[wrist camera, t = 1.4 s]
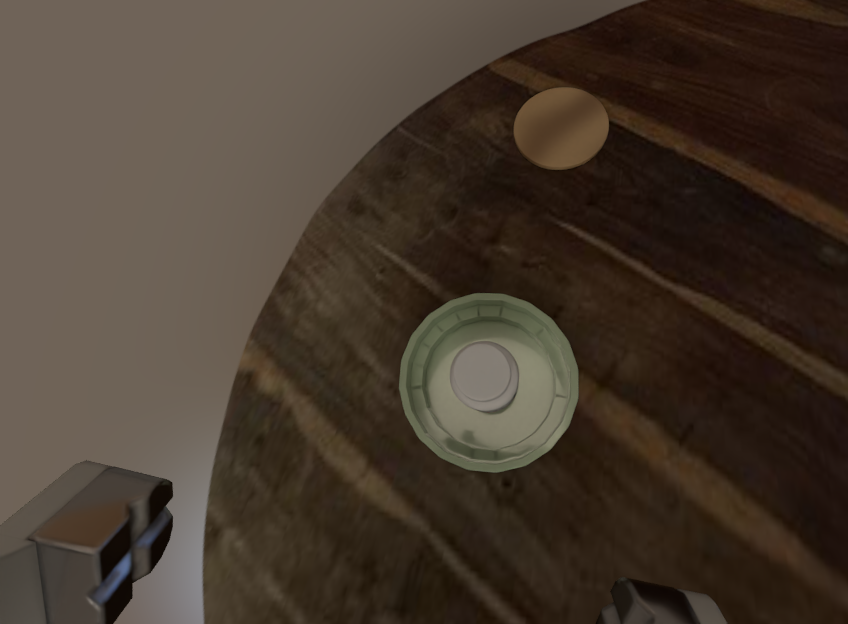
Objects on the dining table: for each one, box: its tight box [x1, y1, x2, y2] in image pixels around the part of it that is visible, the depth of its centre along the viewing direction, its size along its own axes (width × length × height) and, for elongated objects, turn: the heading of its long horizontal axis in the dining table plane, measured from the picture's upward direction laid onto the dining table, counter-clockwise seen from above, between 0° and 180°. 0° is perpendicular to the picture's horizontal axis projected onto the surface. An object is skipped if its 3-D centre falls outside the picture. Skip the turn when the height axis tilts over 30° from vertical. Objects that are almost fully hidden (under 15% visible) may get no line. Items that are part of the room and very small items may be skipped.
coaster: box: [514, 87, 609, 170], centre depth 44 cm, size 9×9×1 cm
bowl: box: [399, 293, 578, 473], centre depth 38 cm, size 14×14×4 cm
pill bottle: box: [450, 341, 519, 413], centre depth 35 cm, size 5×5×9 cm
